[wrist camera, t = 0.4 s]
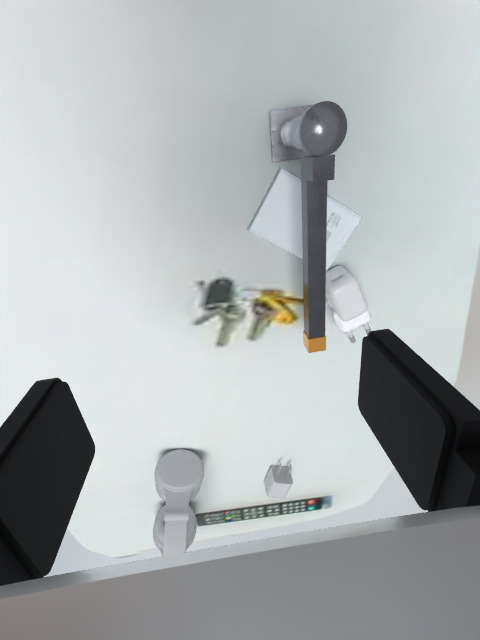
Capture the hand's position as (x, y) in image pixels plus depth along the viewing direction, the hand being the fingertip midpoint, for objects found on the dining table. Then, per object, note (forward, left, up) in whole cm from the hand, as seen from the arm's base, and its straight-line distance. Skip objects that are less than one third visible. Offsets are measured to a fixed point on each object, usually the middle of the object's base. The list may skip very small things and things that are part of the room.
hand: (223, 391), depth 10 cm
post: (-7, +11, -33) cm, 36 cm away
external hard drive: (+3, +12, -34) cm, 36 cm away
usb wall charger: (+51, +6, -34) cm, 61 cm away
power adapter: (+15, +17, -34) cm, 41 cm away
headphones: (+50, -14, -34) cm, 62 cm away
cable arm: (+4, +11, -26) cm, 29 cm away
